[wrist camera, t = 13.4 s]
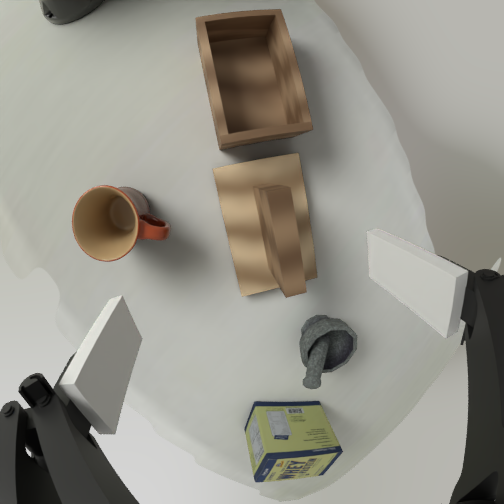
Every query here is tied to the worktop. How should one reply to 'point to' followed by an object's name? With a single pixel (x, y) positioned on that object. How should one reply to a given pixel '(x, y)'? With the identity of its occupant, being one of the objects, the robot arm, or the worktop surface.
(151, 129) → the worktop surface
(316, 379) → the mortar and pestle
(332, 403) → the worktop surface
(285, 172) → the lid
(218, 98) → the box
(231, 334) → the worktop surface
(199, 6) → the worktop surface
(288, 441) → the protein box
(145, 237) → the mug
